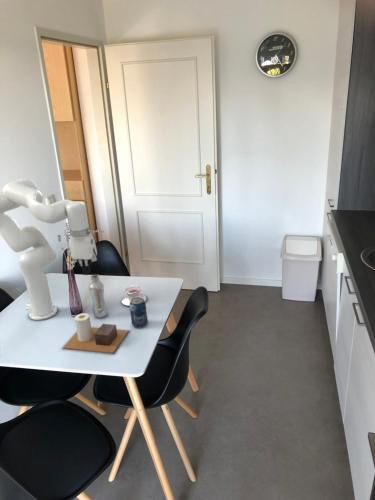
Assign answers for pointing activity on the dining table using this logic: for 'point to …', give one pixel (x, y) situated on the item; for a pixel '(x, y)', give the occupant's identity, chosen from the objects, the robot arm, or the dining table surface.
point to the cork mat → (91, 344)
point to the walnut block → (105, 334)
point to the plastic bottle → (98, 297)
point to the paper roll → (83, 327)
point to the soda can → (138, 312)
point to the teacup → (132, 294)
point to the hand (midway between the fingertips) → (86, 273)
